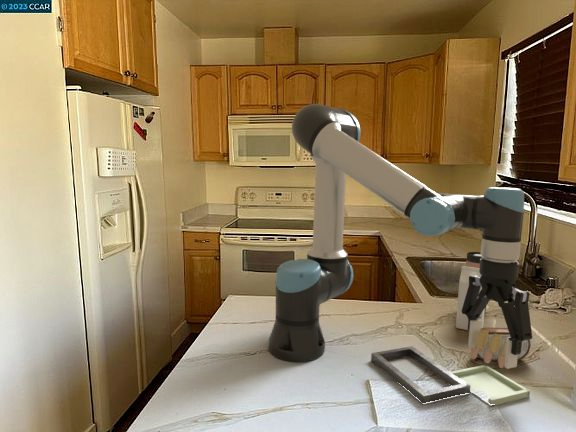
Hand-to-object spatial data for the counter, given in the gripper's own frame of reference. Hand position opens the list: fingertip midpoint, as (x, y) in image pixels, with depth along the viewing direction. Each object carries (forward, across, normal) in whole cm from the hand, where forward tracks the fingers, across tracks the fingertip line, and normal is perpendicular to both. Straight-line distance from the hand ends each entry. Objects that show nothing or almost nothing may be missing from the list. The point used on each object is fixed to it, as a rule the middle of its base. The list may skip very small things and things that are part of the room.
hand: (491, 356), depth 90 cm
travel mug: (+7, +39, -35) cm, 53 cm away
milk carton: (+8, +28, -22) cm, 37 cm away
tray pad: (+7, 0, 0) cm, 7 cm away
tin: (+8, +9, -13) cm, 18 cm away
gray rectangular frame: (+7, +9, +13) cm, 17 cm away
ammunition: (+1, 0, 0) cm, 1 cm away
